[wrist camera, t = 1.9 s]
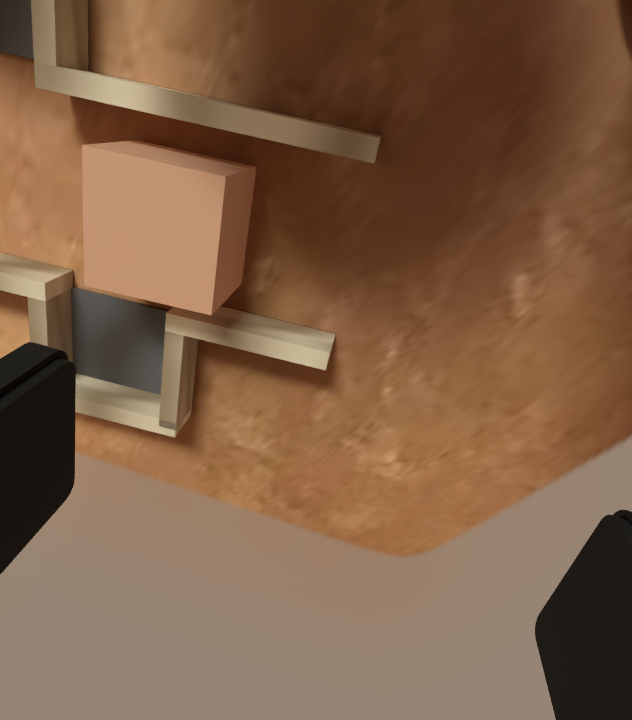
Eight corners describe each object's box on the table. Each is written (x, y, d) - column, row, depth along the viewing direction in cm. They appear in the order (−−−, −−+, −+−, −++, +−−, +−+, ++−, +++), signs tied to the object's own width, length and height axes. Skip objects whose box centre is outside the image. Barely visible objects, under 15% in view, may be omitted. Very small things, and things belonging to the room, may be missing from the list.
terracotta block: (257, 166, 25) (225, 177, 20) (242, 283, 27) (211, 315, 23) (138, 139, 25) (81, 144, 21) (135, 258, 28) (84, 285, 23)
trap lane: (422, -40, 20) (425, -59, 18) (309, 444, 31) (302, 470, 29) (-227, -172, 22) (-299, -205, 19) (-120, 335, 32) (-158, 352, 30)
